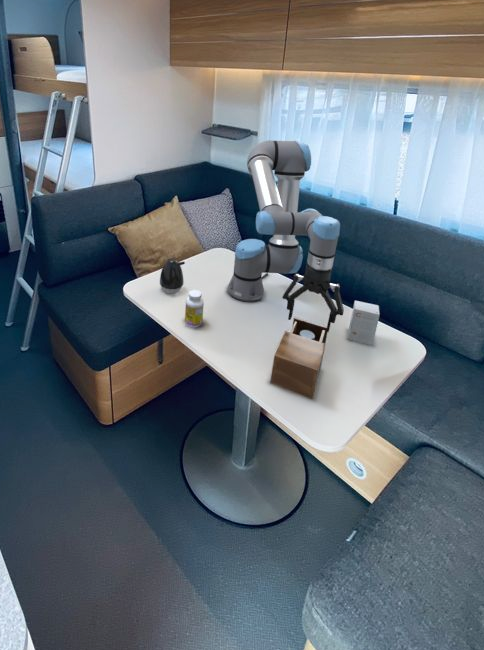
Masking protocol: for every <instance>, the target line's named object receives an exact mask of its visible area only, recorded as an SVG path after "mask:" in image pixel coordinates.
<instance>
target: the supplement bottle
mask: <svg viewBox="0 0 484 650" xmlns="http://www.w3.org/2000/svg"><path fill="white" fill-rule="evenodd" d="M204 304H205V302H204V299H203V297H202V292H201V291H200V290H197V289H193V290H190V291H189V292H188V297H187V298H186V299H185V308H184V310H185V311H184V323H185V325H186V326H188V327H190V328H198V327H200V326H201V325H202V324H203V318H204Z"/></svg>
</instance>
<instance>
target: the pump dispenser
mask: <svg viewBox="0 0 484 650" xmlns="http://www.w3.org/2000/svg"><path fill="white" fill-rule="evenodd" d="M185 264H186V262H185V261H178V259H177V258H176V257H175V258H174V257H170V258H167V260H166V261H165V262H164V264H163V266H162V268H161V272H160V276H159V285H160V287H161V289H162V290H163V292H164V293H167V294H176V293H179V292H180V291H181V290H182V288H183V286H184V283H185V282H184V274H183V269H182V266H183V265H185Z"/></svg>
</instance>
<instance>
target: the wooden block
mask: <svg viewBox="0 0 484 650" xmlns="http://www.w3.org/2000/svg"><path fill="white" fill-rule="evenodd" d="M325 348H326V343H325V344H324V343H321V342H318V341H315V340H312V339H309V338H305V337H302V336H299V335H296V334H293V333H290V331H286V330H285V331H284V333H283V335H282V337H281V339H280V342H279V343H278V346H277V349H276V351H275V353H274V356H273V361H272V362H273V363H272V368H271V374H270V375H271V376H270V382H269V384H271V385H274V386H277V387H280V388H281V389H285V390H287V391H289V392H293V393H295V394H298V395H301V396H303V397H306V398H308V399H311V400H313V398H314V395H315V392H316V388H317V384H318V381H319V378H320V373H321V371H322V364H323V358H324V354H325V350H326V349H325Z"/></svg>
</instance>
